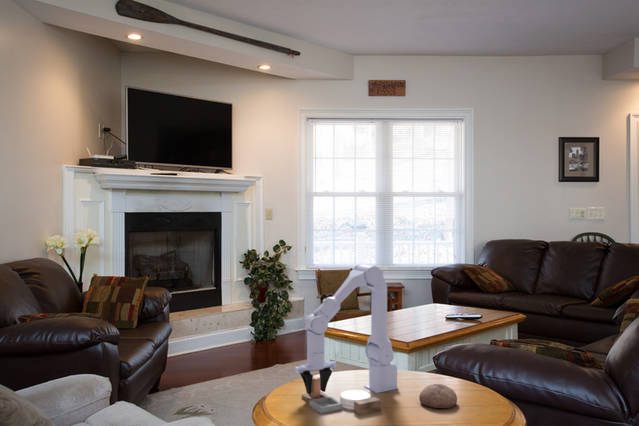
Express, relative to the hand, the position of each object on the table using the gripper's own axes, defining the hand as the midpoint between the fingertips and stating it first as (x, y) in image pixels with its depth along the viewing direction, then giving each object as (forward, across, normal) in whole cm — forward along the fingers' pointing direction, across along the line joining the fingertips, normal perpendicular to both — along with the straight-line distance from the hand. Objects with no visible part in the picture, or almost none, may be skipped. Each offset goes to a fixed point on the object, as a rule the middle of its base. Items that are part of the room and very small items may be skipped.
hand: (315, 392), depth 178 cm
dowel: (+2, 0, 0) cm, 2 cm away
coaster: (+3, -9, +10) cm, 14 cm away
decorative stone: (+4, -33, +26) cm, 42 cm away
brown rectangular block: (+2, -9, +17) cm, 20 cm away
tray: (+2, +1, +8) cm, 9 cm away
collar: (+2, 0, 0) cm, 2 cm away
